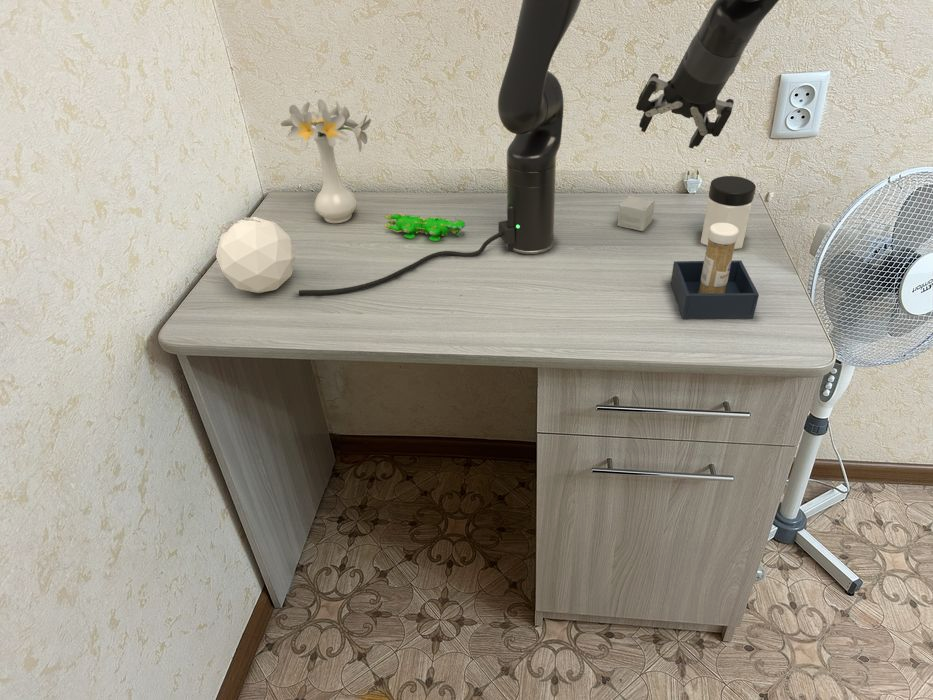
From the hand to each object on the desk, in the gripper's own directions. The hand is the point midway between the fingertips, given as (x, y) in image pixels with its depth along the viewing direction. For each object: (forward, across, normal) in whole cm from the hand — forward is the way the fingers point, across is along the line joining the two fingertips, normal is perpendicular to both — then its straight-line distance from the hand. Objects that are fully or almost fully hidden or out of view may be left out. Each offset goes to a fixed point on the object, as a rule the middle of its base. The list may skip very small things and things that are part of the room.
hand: (667, 136), depth 117 cm
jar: (+22, -20, 0) cm, 30 cm away
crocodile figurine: (+35, +37, +13) cm, 53 cm away
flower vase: (+43, +58, +11) cm, 73 cm away
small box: (+29, -4, -3) cm, 29 cm away
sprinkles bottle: (+12, -17, +20) cm, 29 cm away
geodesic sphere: (+31, +61, +39) cm, 78 cm away
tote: (+13, -17, +20) cm, 29 cm away
